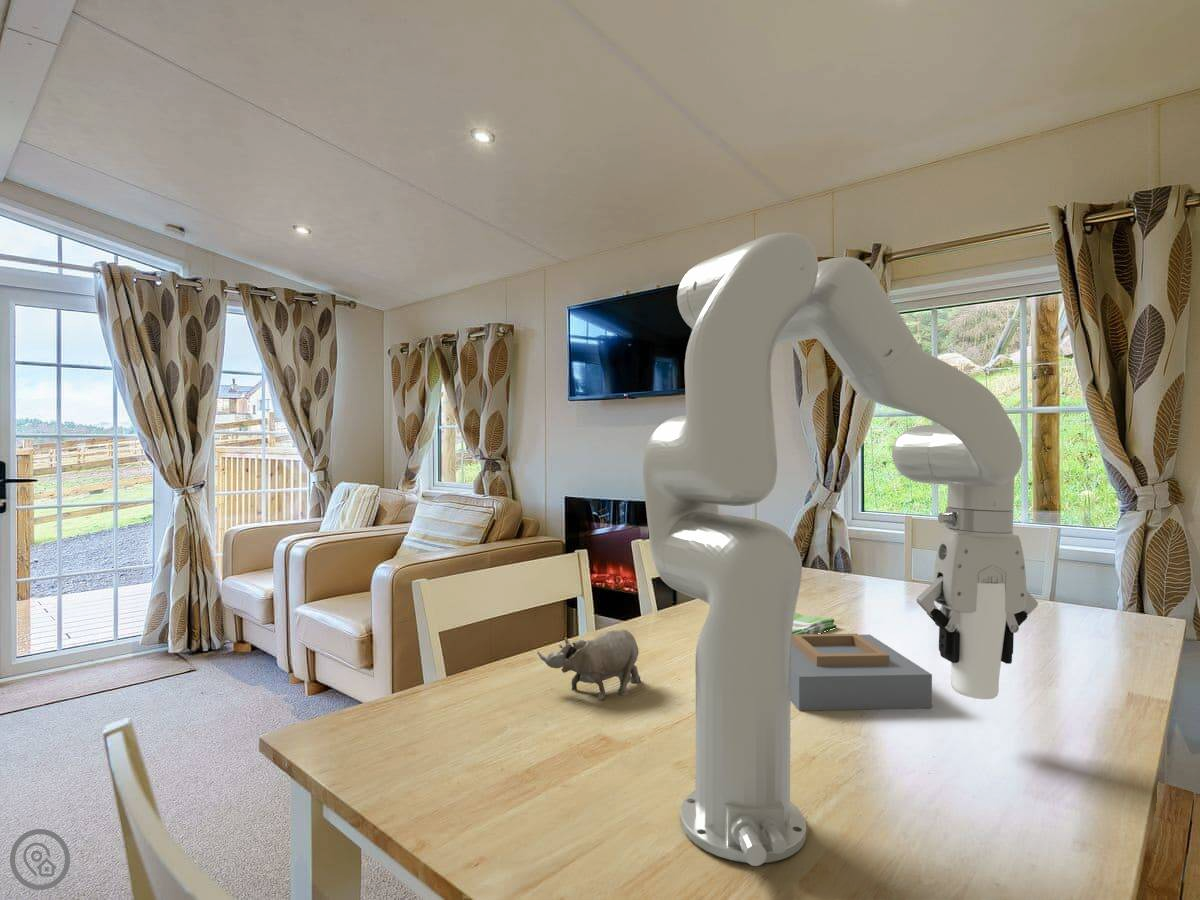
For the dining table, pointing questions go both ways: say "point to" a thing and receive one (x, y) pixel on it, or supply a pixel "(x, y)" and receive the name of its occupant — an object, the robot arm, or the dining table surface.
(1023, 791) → the dining table surface
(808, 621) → the dish towel
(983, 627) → the white tapered cylinder
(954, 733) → the dining table surface
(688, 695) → the dining table surface
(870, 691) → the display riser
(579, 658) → the rhinoceros figurine
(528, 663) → the dining table surface
